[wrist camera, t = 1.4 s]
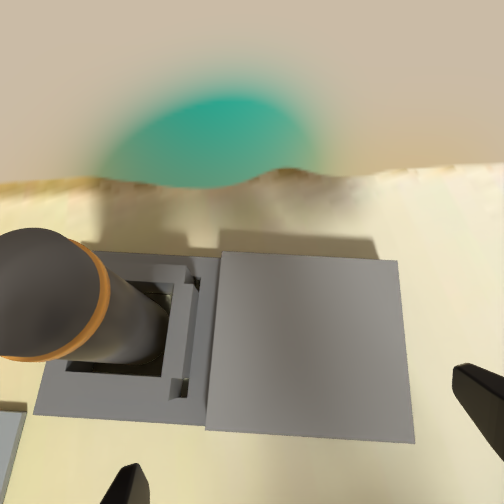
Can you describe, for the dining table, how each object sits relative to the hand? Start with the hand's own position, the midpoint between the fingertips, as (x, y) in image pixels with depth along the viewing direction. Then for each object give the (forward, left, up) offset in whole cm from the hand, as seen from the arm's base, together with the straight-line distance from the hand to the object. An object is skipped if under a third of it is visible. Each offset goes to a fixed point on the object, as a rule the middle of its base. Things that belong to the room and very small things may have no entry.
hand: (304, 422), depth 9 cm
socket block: (+3, +3, -14) cm, 15 cm away
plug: (+3, +9, -14) cm, 17 cm away
